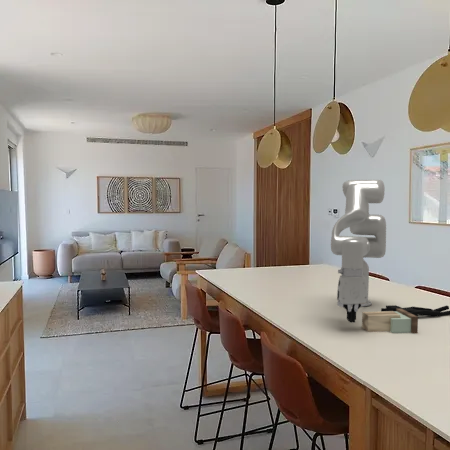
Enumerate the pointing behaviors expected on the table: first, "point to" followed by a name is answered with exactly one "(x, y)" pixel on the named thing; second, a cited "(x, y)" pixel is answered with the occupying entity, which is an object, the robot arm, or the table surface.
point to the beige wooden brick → (378, 320)
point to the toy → (420, 310)
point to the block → (400, 324)
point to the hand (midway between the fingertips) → (351, 321)
